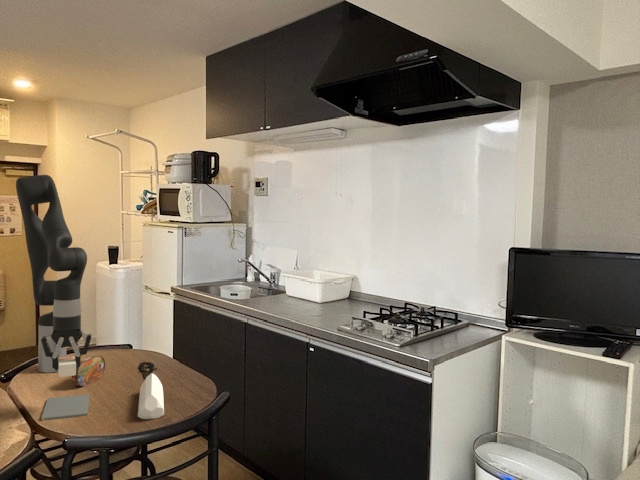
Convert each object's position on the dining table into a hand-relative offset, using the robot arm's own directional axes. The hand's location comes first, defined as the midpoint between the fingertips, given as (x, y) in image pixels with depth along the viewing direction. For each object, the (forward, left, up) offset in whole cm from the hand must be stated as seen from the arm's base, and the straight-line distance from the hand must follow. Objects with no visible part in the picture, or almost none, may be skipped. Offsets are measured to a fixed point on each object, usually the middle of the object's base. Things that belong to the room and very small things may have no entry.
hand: (66, 368), depth 150 cm
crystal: (+5, +24, -13) cm, 28 cm away
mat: (0, 0, -12) cm, 12 cm away
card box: (0, 0, -1) cm, 1 cm away
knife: (-25, +26, -13) cm, 38 cm away
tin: (-22, +5, -12) cm, 26 cm away
